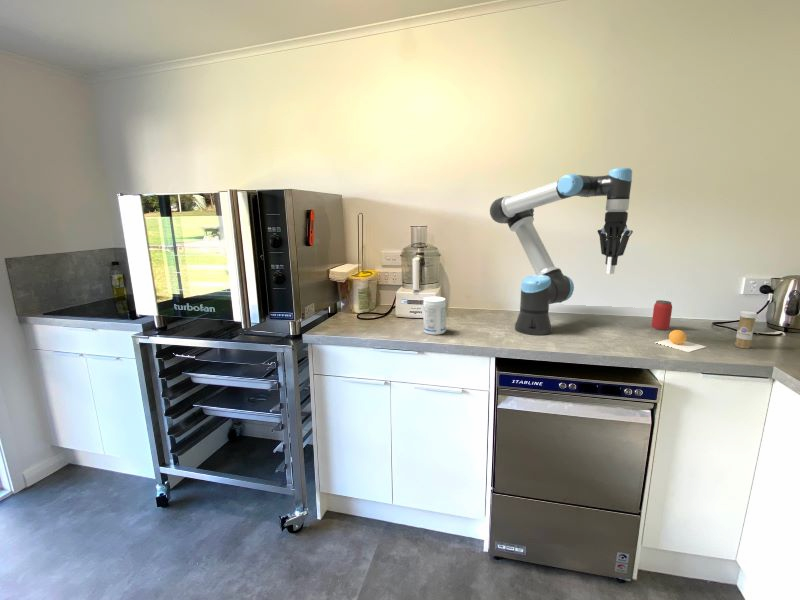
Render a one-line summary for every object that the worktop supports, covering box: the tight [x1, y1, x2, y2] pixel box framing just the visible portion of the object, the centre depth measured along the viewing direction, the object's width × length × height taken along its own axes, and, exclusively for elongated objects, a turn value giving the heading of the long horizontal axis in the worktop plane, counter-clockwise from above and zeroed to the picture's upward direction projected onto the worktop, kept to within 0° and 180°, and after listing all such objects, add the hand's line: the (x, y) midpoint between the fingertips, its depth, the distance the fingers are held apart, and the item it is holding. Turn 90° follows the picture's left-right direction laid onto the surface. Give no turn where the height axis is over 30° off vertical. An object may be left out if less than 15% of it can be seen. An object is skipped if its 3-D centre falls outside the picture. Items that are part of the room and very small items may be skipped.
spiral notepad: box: [654, 338, 707, 353], centre depth 147 cm, size 12×12×1 cm
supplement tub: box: [422, 296, 447, 336], centre depth 165 cm, size 10×10×15 cm
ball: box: [668, 329, 687, 344], centre depth 147 cm, size 6×6×6 cm
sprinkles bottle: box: [734, 310, 758, 349], centre depth 143 cm, size 5×5×14 cm
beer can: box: [651, 299, 673, 331], centre depth 168 cm, size 7×7×12 cm
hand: (610, 273), depth 150 cm, fingers closed
